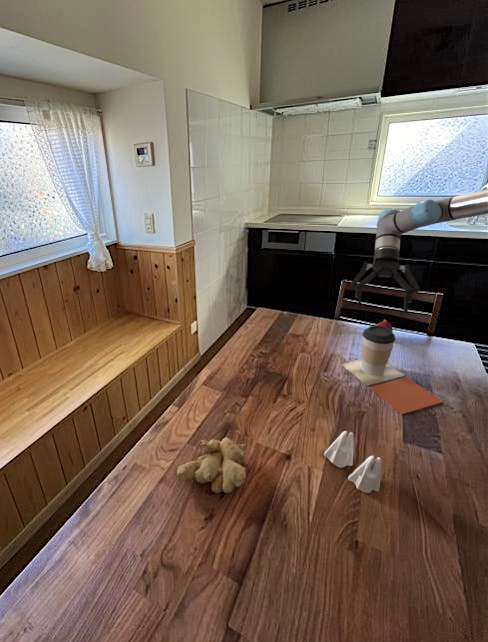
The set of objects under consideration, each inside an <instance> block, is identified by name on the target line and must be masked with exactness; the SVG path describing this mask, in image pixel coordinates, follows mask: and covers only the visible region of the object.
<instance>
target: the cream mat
mask: <svg viewBox="0 0 488 642" xmlns="http://www.w3.org/2000/svg"><path fill="white" fill-rule="evenodd" d="M341 366H342V367H343V368H344V369H346V370H347V371H348V372H350V373H351V374H352V376H354V377H356V378H357V379H358V380H359V381H360V382H361V383H363V384H364V385H366V386H367V387H371V386H375V385H379V384H383V383H387V382H390V381H394V380H398V379H402V378H406V377H405V374H403V373H402V372H400V371H399V370H397V369H396V368H394V367H393V366H391V365H390V364H389V363H387V364H386V367H385V370H384V373H383V374H382V375H380V376H373V375H369V374H367V373H365V372H363V371H362V370H361V359H358V360H353V361H350V362H344V363H341Z"/></svg>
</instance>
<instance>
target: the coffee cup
mask: <svg viewBox="0 0 488 642" xmlns="http://www.w3.org/2000/svg"><path fill="white" fill-rule="evenodd" d="M395 342H396V335H395V334H394V332H392V330H391V329H389V328H386V327H383V326H377V325H370V326H369V327H367V328H365V329H364V331H362V340H361V354H360V356H361V358H360V360H361V370H362V371H363V372H365V373H367V374H369V375H373V376H380V375H382V374H383V373H384V370H385V367H386V364H388V362H389V361H390V360H389V359H390V356H391V354H392V351H393V347H394V344H395Z"/></svg>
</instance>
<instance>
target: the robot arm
mask: <svg viewBox="0 0 488 642" xmlns="http://www.w3.org/2000/svg"><path fill="white" fill-rule="evenodd" d="M483 215H488V188H486V189H482V190H477V191H473V192H469V193H465V194H460V195H457V196H451V197H448V198H442V199H439V200H433V199H426V200H423V201H419V202H417V203H416V204H414V205H411V206H410V207H406V208H405V209H403V210H401V211H400V210H399V209H396V208H390V209H386V210H383V211H382V212H380V213H379V215H378V218H377V222H376V235H375V242H374V243H375V244H374V253H373V255H374V256H373V262H372V263H368V262H367V261H365V262H363V265H362V268H361V269H360V271H358V273H357V274H356V275H355V277H354V278H353V280H352V281H351V282H350V288H351V289H355V292H354V293H355V295H354V297H355V299H357V309H360V308H361V307H362V297H363V288H364V286H365V285H367V284H368V283H369V282H371V281H372V280H373V279H374V278H376V277H378V278H387V279H389V278H392V279H393V280H395V282H396V283H397V284H398V285H399V286H400V287H401V288H402V289H403V290H404V291H405V293H404V300H403V314H406V313H407V312H409V304H412V301H413V295H414V294H418V293H419V291H420V290H421V287H420V286H419V284H418V282H417V280H416V279H415V277H414V275H413V273H412V272H411V268H410V267H411V266H410V264H408V263H406V264H405V265H400V263H399V261H400V249H401V237H402V236H401V235H403V234H406V233H408V232H411V231H414V230H417V229H420V228H423V227H426V226H432V225H435V224H441V223H446V222H451V221H456V220H461V219H467V218H474V217H478V216H483ZM369 269H371V270H372V272H371V273H369V274H368V275H367V276H366V277H365V278H363V279H362V277H363V276H364V275H365V273H366V272H367V271H369ZM399 270H400V271H401V272H402V273H403V274H404V276H405V278H406V280H407V281H406V280H405V279H404V278H403V277H402V276H401V274H400V273H399V272H398V271H399ZM361 279H362V280H361Z"/></svg>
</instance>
